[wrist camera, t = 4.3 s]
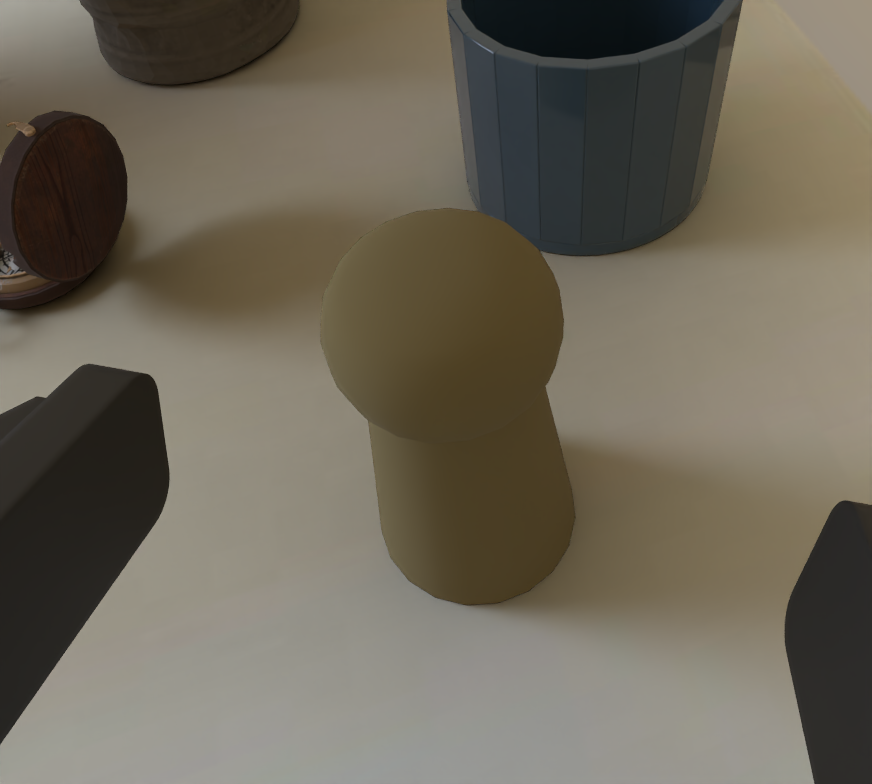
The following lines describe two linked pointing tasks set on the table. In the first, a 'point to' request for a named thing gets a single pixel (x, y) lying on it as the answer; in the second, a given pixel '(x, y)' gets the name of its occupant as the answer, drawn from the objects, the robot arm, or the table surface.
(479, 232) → the cork
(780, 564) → the table surface
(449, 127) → the table surface
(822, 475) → the table surface
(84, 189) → the compass
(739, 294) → the table surface
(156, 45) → the beer stein
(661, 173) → the tumbler
